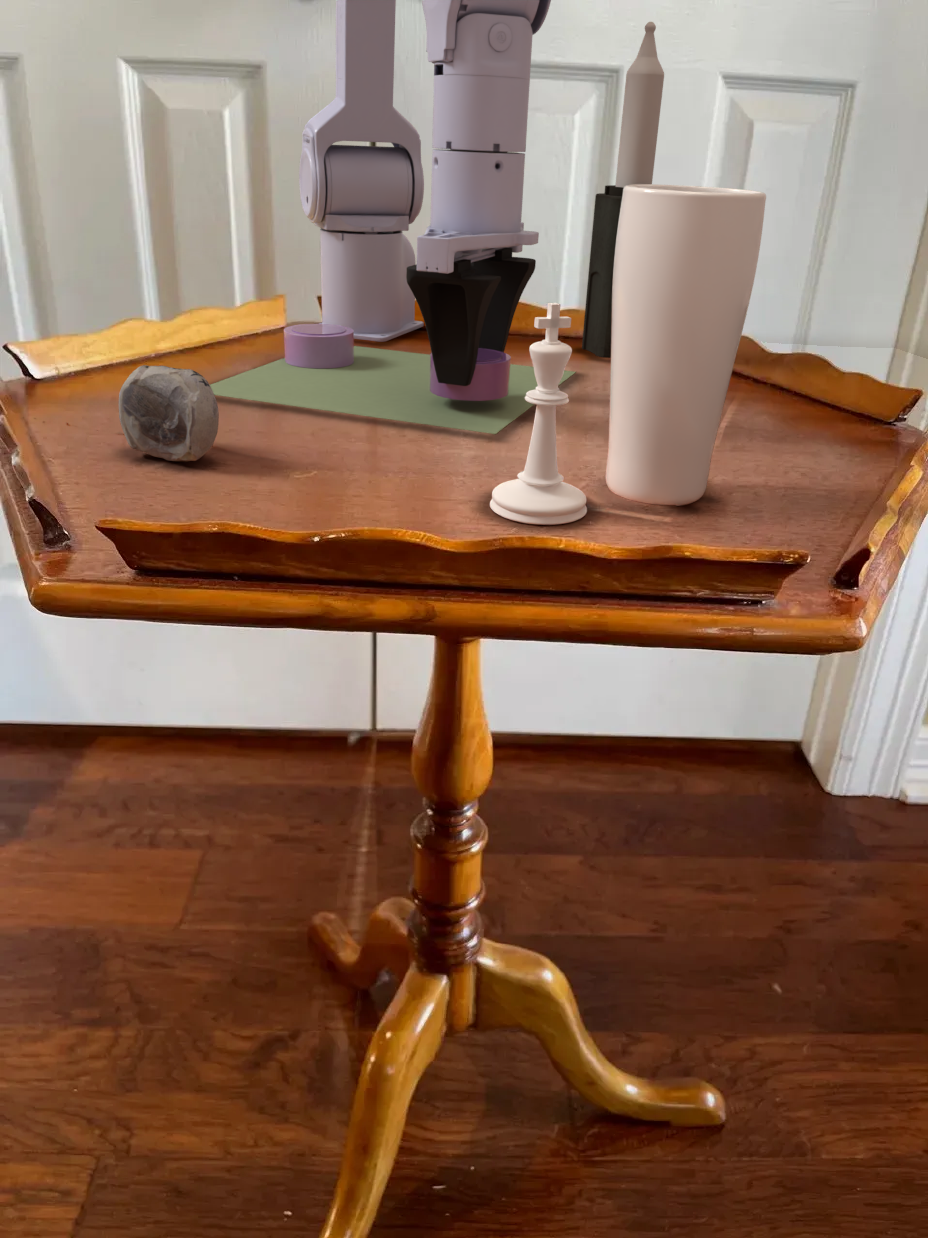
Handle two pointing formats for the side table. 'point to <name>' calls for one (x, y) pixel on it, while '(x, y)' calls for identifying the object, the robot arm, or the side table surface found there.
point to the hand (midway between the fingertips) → (469, 374)
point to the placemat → (381, 391)
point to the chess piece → (543, 441)
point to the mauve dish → (478, 379)
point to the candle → (631, 169)
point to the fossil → (168, 413)
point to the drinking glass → (676, 332)
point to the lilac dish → (319, 346)
